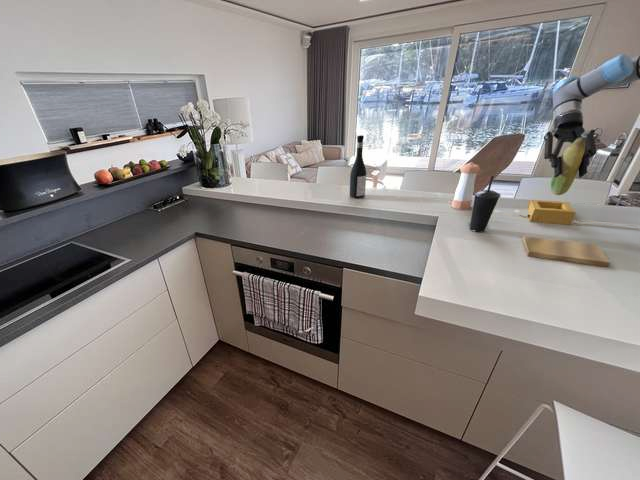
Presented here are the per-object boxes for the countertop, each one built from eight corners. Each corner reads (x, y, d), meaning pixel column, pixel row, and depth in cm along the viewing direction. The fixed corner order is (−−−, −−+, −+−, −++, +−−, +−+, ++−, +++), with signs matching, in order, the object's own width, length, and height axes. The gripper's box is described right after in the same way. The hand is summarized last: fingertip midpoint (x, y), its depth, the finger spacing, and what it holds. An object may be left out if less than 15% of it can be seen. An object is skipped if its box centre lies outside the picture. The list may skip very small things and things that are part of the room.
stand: (562, 214, 113) (567, 202, 110) (569, 225, 104) (575, 212, 102) (525, 211, 118) (530, 199, 116) (529, 221, 110) (534, 208, 107)
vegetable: (570, 198, 103) (597, 138, 93) (549, 197, 105) (573, 139, 95) (562, 193, 108) (587, 135, 98) (542, 192, 110) (564, 136, 100)
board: (594, 248, 89) (596, 244, 88) (607, 267, 81) (610, 262, 80) (522, 240, 98) (523, 236, 97) (527, 256, 89) (528, 251, 88)
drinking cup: (493, 233, 103) (511, 178, 93) (469, 233, 105) (485, 179, 95) (484, 225, 110) (500, 172, 100) (462, 225, 111) (475, 173, 101)
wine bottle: (367, 195, 152) (372, 134, 137) (359, 199, 148) (363, 137, 133) (354, 193, 158) (357, 134, 143) (346, 197, 153) (348, 136, 138)
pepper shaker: (448, 204, 131) (457, 161, 122) (463, 203, 131) (474, 159, 122) (457, 210, 125) (468, 164, 116) (473, 208, 125) (486, 163, 116)
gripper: (594, 124, 105) (598, 180, 100) (530, 127, 111) (531, 180, 106) (610, 108, 98) (615, 168, 93) (541, 113, 104) (542, 169, 99)
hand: (570, 174), depth 100 cm, fingers closed on vegetable, 6 cm apart
